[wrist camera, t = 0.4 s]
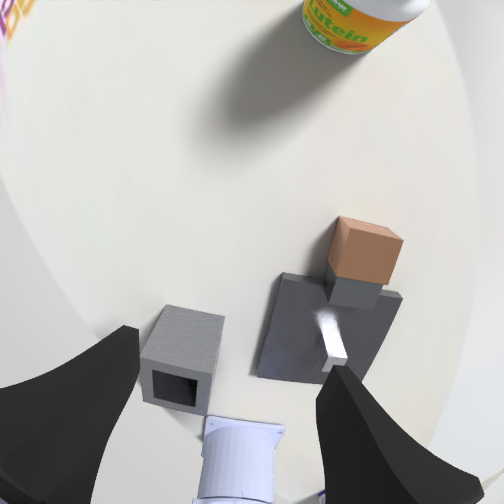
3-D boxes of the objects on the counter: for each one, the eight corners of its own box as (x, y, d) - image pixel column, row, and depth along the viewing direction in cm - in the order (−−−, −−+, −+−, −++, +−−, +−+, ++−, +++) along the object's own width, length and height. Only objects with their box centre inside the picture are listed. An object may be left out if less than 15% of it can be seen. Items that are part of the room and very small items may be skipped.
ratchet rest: (356, 378, 23) (365, 407, 20) (256, 368, 23) (255, 400, 19) (418, 235, 18) (443, 254, 15) (298, 207, 18) (306, 221, 15)
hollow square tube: (217, 359, 22) (206, 416, 17) (165, 348, 22) (143, 401, 17) (224, 316, 21) (212, 373, 15) (166, 304, 21) (138, 356, 15)
